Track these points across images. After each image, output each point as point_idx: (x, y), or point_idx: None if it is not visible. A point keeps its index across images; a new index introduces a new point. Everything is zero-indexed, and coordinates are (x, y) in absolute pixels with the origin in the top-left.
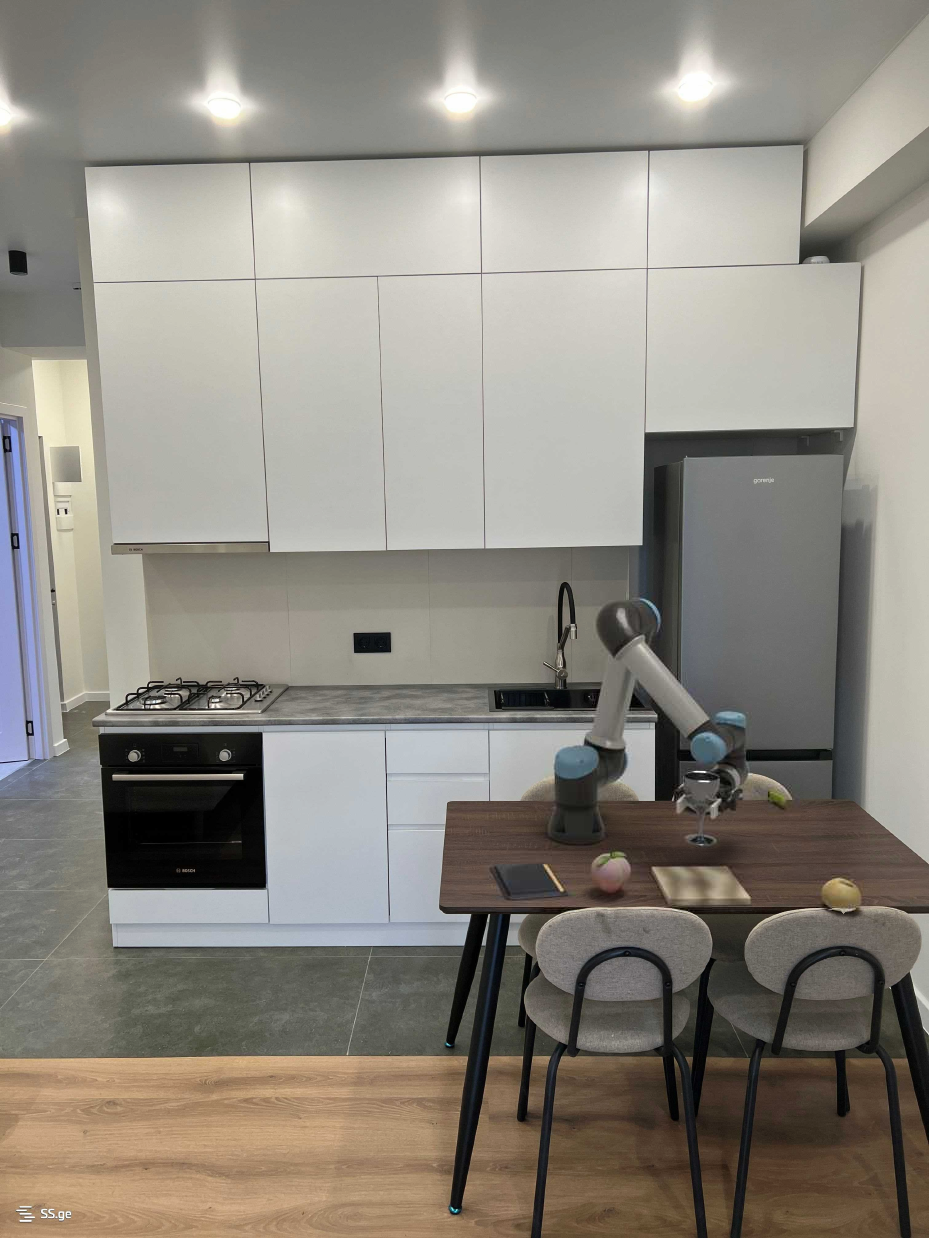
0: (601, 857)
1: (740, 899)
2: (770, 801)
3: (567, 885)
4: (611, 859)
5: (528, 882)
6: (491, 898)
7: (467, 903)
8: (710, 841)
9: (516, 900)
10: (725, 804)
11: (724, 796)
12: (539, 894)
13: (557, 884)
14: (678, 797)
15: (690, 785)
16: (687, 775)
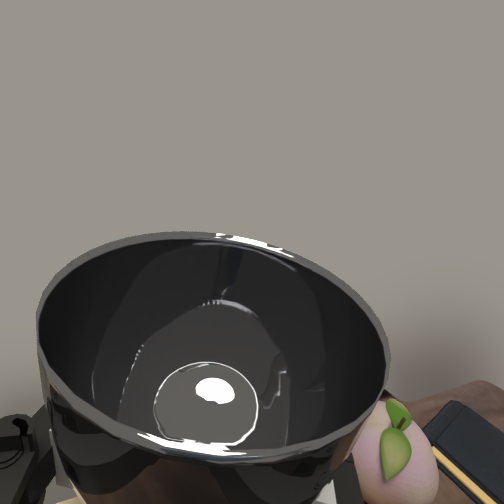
0: (405, 410)
1: (65, 501)
2: None
3: (456, 495)
4: (385, 413)
5: (493, 451)
6: (474, 401)
7: (474, 381)
8: None
9: (447, 403)
10: (44, 407)
11: (15, 423)
12: (440, 421)
13: (464, 478)
14: (351, 468)
15: (276, 281)
16: (375, 385)
